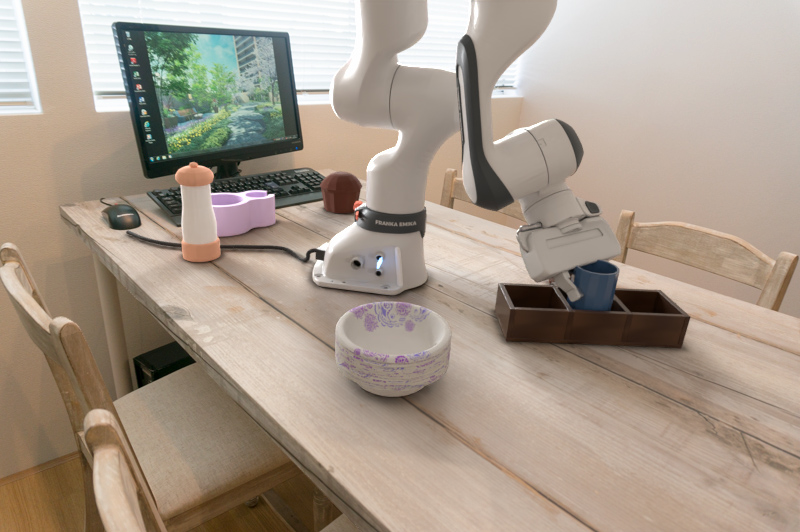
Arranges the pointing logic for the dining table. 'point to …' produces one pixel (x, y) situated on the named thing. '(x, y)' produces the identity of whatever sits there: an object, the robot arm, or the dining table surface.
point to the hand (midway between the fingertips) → (594, 294)
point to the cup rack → (589, 317)
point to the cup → (595, 285)
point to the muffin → (340, 192)
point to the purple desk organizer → (242, 211)
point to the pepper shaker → (197, 214)
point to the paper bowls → (392, 347)
